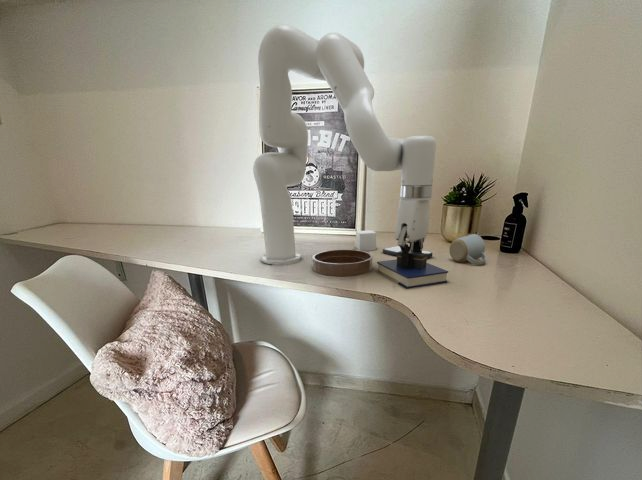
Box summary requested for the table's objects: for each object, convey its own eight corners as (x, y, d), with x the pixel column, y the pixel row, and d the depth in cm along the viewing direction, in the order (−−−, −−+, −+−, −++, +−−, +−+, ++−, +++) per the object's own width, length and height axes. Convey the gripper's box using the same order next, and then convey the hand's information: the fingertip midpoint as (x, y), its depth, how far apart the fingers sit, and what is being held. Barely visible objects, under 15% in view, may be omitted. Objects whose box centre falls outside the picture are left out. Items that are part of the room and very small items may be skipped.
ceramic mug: (446, 259, 105) (449, 235, 102) (463, 255, 109) (467, 232, 106) (473, 267, 97) (477, 241, 94) (491, 263, 101) (496, 238, 98)
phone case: (380, 253, 116) (415, 261, 104) (380, 248, 115) (415, 256, 103) (399, 249, 120) (434, 257, 108) (399, 245, 120) (434, 252, 107)
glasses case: (396, 265, 90) (397, 252, 88) (401, 263, 92) (402, 250, 91) (421, 269, 86) (422, 256, 84) (426, 267, 88) (427, 253, 86)
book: (376, 271, 95) (376, 261, 94) (412, 266, 99) (413, 257, 98) (406, 288, 81) (407, 277, 80) (447, 282, 85) (448, 271, 84)
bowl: (306, 265, 102) (305, 252, 100) (357, 259, 108) (357, 247, 106) (324, 281, 87) (323, 267, 86) (382, 273, 93) (383, 259, 91)
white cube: (359, 250, 119) (359, 233, 116) (355, 247, 124) (355, 230, 122) (376, 249, 120) (376, 232, 117) (371, 246, 125) (371, 230, 123)
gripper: (417, 190, 90) (412, 257, 97) (384, 195, 78) (382, 271, 85) (444, 191, 85) (437, 261, 93) (414, 196, 73) (408, 276, 81)
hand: (411, 265), depth 89 cm, fingers open, 4 cm apart
